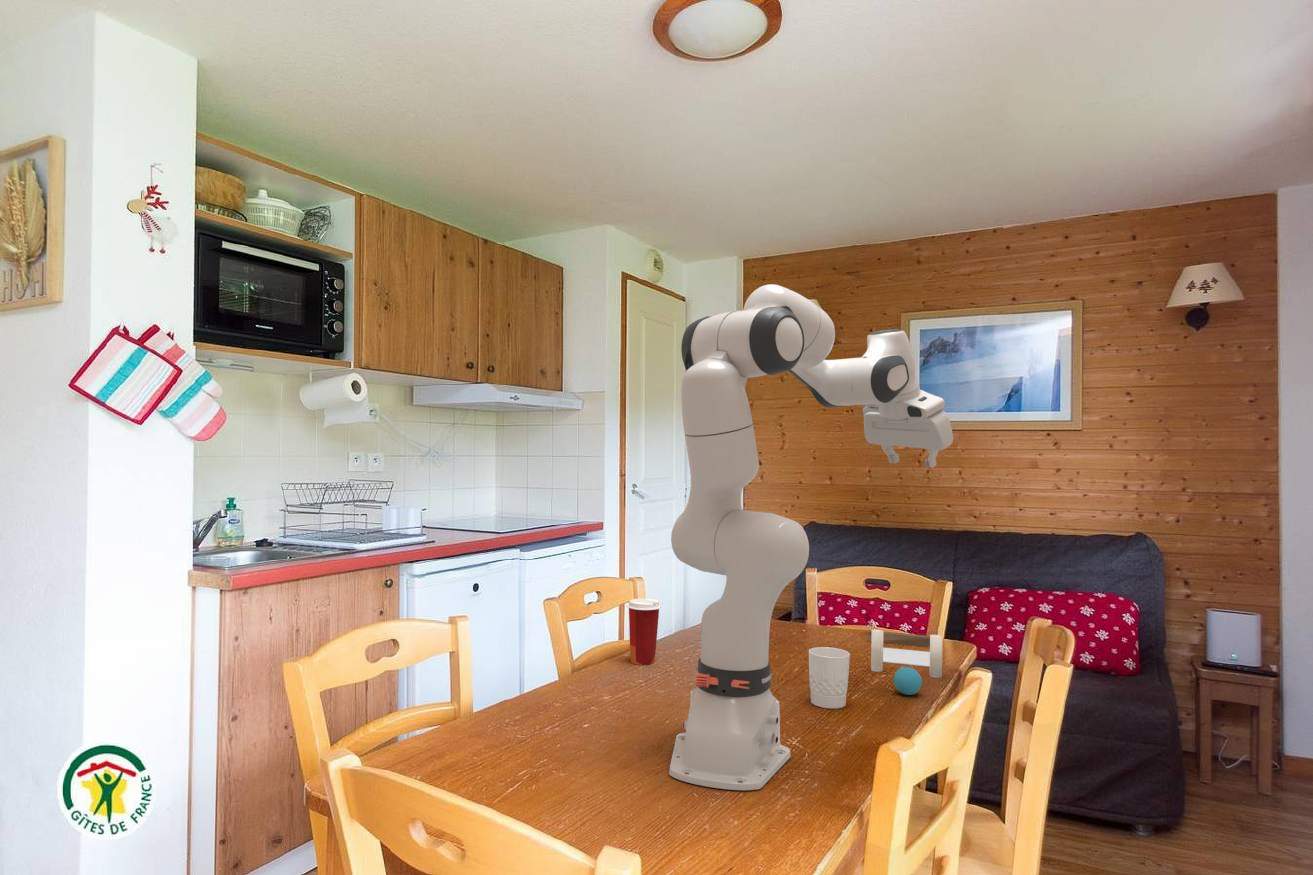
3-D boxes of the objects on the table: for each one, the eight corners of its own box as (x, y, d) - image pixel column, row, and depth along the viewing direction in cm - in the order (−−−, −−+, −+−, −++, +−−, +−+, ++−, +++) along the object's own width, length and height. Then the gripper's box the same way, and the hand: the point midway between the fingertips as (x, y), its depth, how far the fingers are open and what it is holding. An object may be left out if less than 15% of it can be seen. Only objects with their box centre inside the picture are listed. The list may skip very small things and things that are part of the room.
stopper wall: (940, 648, 194) (940, 638, 194) (868, 641, 199) (868, 631, 199) (940, 646, 196) (940, 636, 196) (868, 639, 201) (868, 630, 201)
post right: (942, 678, 166) (942, 637, 167) (929, 677, 167) (930, 636, 167) (941, 675, 169) (942, 635, 169) (929, 674, 170) (929, 634, 170)
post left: (882, 672, 170) (883, 632, 170) (870, 671, 171) (871, 631, 171) (882, 669, 173) (883, 630, 173) (871, 668, 173) (871, 628, 174)
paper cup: (665, 661, 175) (667, 600, 175) (647, 668, 168) (649, 605, 169) (637, 655, 179) (639, 596, 179) (618, 662, 173) (620, 601, 173)
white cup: (849, 711, 143) (850, 658, 143) (807, 707, 145) (808, 655, 145) (847, 698, 151) (848, 648, 151) (807, 695, 152) (808, 645, 152)
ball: (922, 699, 151) (922, 672, 151) (893, 696, 153) (893, 669, 153) (921, 691, 156) (921, 665, 157) (893, 688, 158) (893, 662, 158)
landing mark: (936, 667, 175) (936, 666, 175) (874, 661, 180) (874, 660, 180) (933, 653, 189) (933, 652, 189) (875, 647, 193) (875, 646, 193)
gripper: (852, 407, 165) (865, 465, 168) (932, 410, 148) (944, 474, 151) (870, 397, 168) (883, 454, 172) (951, 399, 151) (963, 462, 154)
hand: (912, 464), depth 161 cm, fingers open, 8 cm apart
